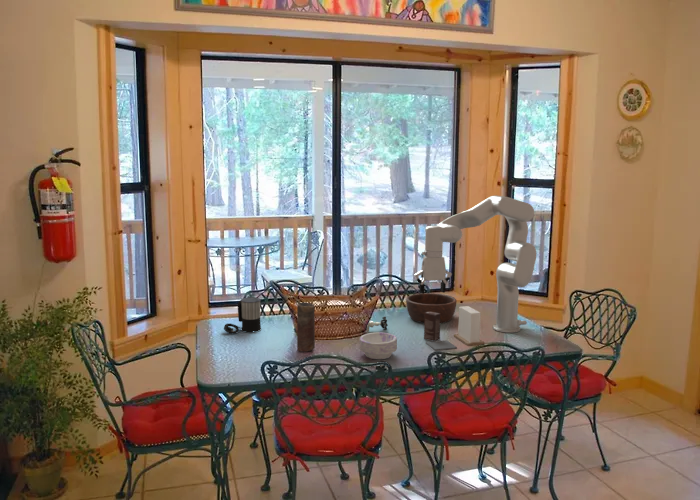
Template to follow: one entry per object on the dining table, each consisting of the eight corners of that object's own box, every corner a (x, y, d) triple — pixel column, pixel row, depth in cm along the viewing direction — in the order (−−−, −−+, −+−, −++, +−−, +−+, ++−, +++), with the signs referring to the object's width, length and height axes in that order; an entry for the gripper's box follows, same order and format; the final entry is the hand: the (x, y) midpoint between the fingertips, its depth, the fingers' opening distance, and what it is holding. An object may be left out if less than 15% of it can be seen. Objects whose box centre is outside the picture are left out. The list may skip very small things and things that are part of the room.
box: (440, 339, 267) (440, 313, 265) (434, 341, 264) (435, 315, 262) (429, 336, 271) (429, 310, 269) (423, 338, 268) (423, 312, 266)
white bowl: (352, 356, 245) (352, 337, 243) (375, 347, 256) (375, 329, 255) (381, 365, 235) (381, 345, 233) (404, 355, 246) (404, 336, 245)
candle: (306, 346, 258) (305, 300, 255) (318, 349, 253) (318, 303, 250) (293, 350, 252) (292, 304, 249) (306, 354, 247) (305, 307, 244)
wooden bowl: (404, 311, 314) (404, 292, 313) (452, 312, 313) (453, 293, 312) (407, 325, 289) (407, 304, 288) (459, 325, 288) (459, 305, 287)
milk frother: (265, 328, 283) (264, 298, 281) (244, 337, 270) (243, 305, 267) (241, 325, 290) (240, 295, 288) (220, 333, 276) (218, 302, 274)
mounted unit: (469, 335, 273) (470, 305, 271) (484, 344, 260) (485, 313, 258) (453, 336, 271) (454, 306, 269) (467, 345, 258) (468, 314, 256)
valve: (362, 333, 276) (387, 332, 278) (362, 319, 275) (387, 318, 277) (359, 329, 282) (383, 328, 285) (359, 316, 281) (383, 314, 284)
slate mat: (446, 341, 264) (446, 340, 264) (456, 348, 254) (456, 347, 254) (425, 343, 261) (425, 342, 261) (434, 350, 252) (434, 349, 252)
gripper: (418, 256, 255) (417, 295, 258) (455, 254, 260) (454, 293, 263) (411, 253, 263) (411, 291, 265) (448, 252, 267) (447, 289, 270)
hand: (432, 292), depth 264 cm, fingers open, 9 cm apart
